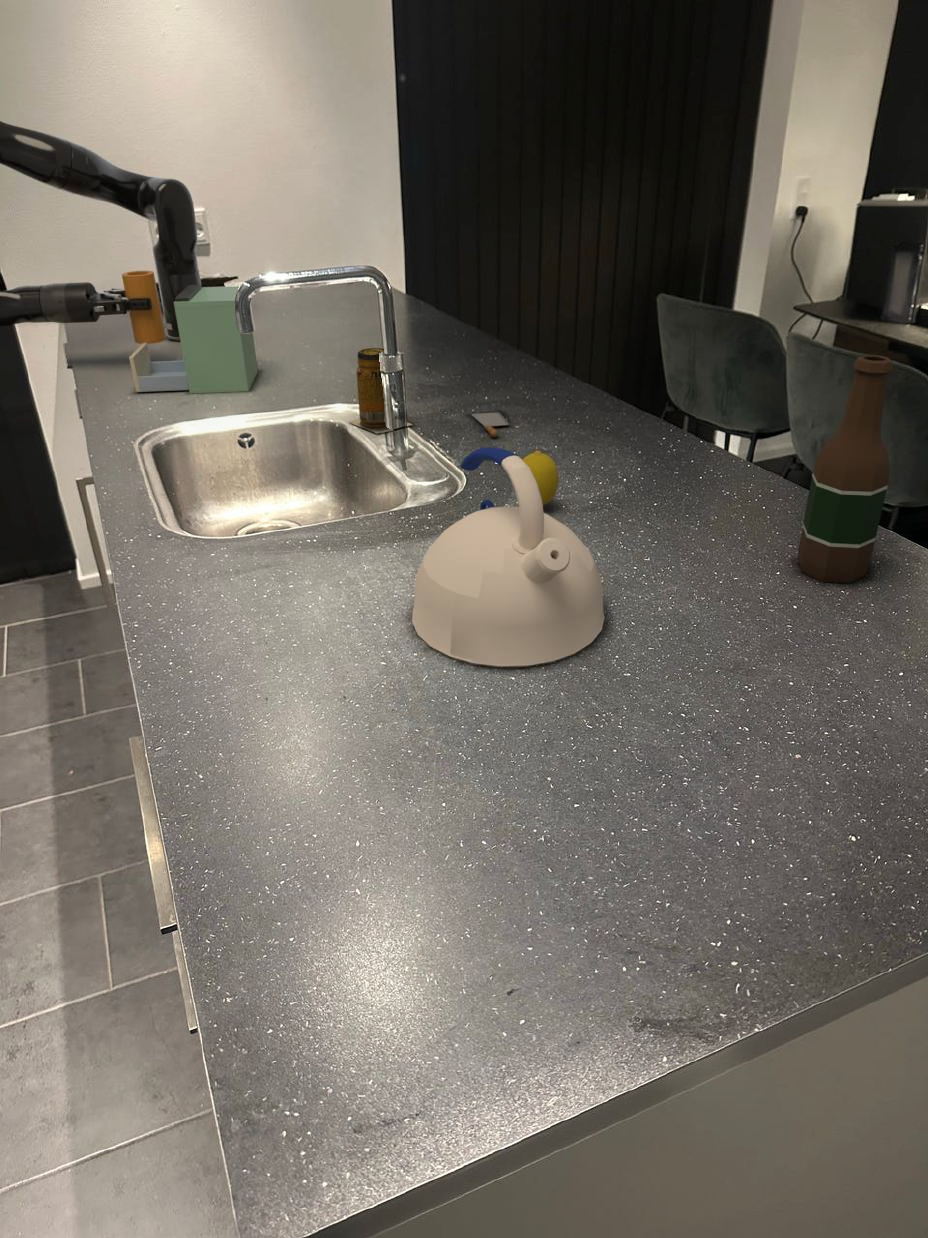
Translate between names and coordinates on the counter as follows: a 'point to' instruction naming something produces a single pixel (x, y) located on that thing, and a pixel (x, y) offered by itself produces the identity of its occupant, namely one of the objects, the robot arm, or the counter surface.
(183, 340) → the green open box
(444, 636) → the kettle
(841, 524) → the beer bottle
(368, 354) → the condiment
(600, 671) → the counter surface
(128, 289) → the jar
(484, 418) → the cleaver
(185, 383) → the beige drawer
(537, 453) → the lemon
